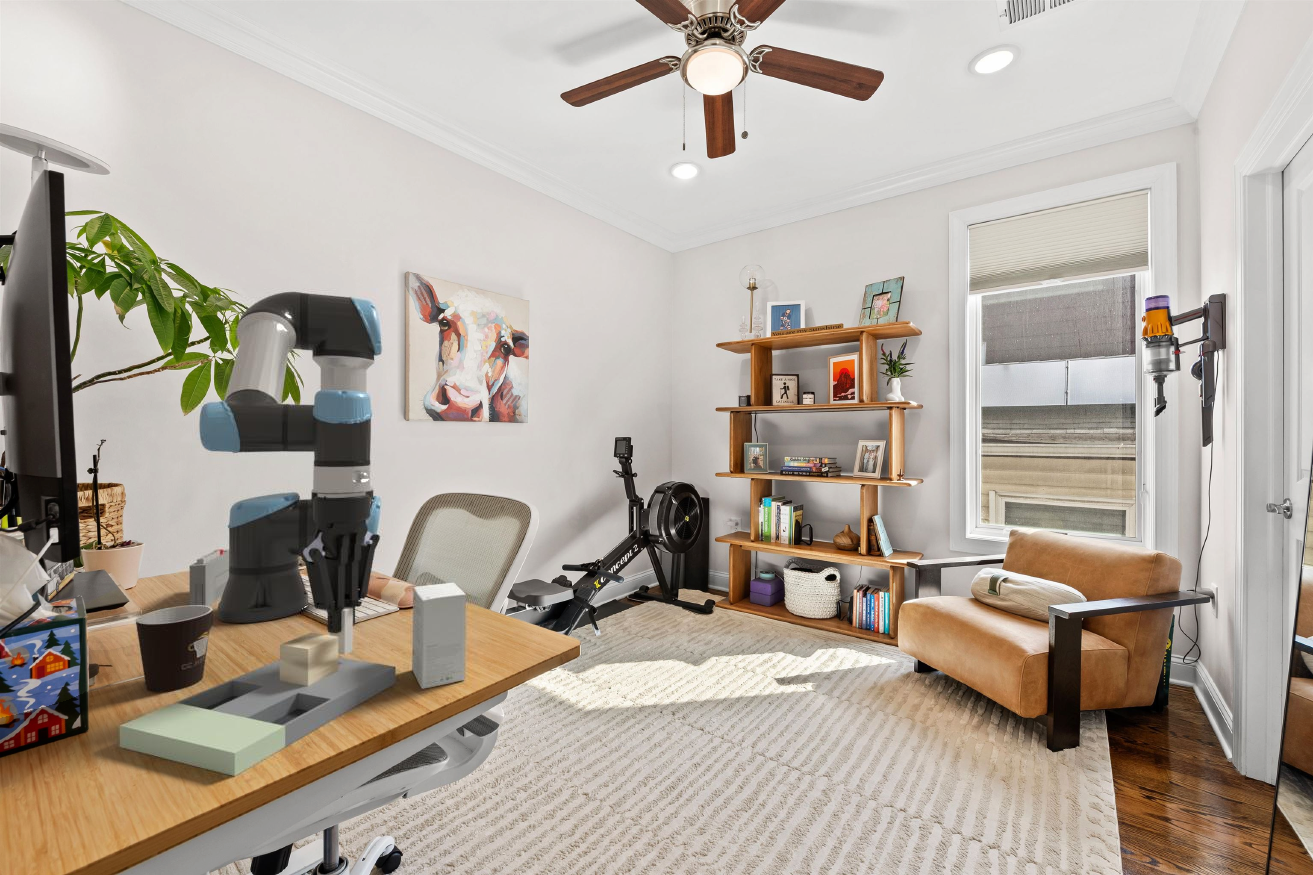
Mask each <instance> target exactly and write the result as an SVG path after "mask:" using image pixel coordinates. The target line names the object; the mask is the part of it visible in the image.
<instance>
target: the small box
mask: <svg viewBox="0 0 1313 875" xmlns="http://www.w3.org/2000/svg"><path fill="white" fill-rule="evenodd" d="M412 590H413V593H412V596H413V597H412V653H411V655H412V656H411V670H412V672H413V674H414V676H415V678H416V681H417V682H418V685H419V686H420V688H421V689H422V690H424V689H428V688H429V689H430V688H433V687H438V686H442V685H443V686H444V685H448V684H452V683H456V682H462V681H465V680H466V664H467V663H466V662H467V661H466V651H467V648H466V647H467V646H466V643H467V642H466V640H467V638H466V636H467V635H466V634H467V632H466V631H467V626H466V624H467V594H466V593H465V592H464V591H463V590H462V589H461V587H459V586H458V585H457V584H456V583H455V582H447V583H438V584H437V583H436V584H429V585H420V586H413V589H412Z"/></svg>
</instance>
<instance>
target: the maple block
mask: <svg viewBox="0 0 1313 875" xmlns="http://www.w3.org/2000/svg"><path fill="white" fill-rule="evenodd" d="M338 657H339V654H338V637H337V636H330V634H324V633H323V634H322V633H316V632H309V633H306V634H304V635H302V636H298V637H296V638H293V639H291V640H288V641H285V642H283V643H281V644H279V660H280V681H284V682H289V683H295V684H300V685H306V686H309V685H311V684H313V683H315V682H317V681H319V680H321V679H323V678H325V677H327V676H330V675H332V674H334V673H336V672H338Z"/></svg>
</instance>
